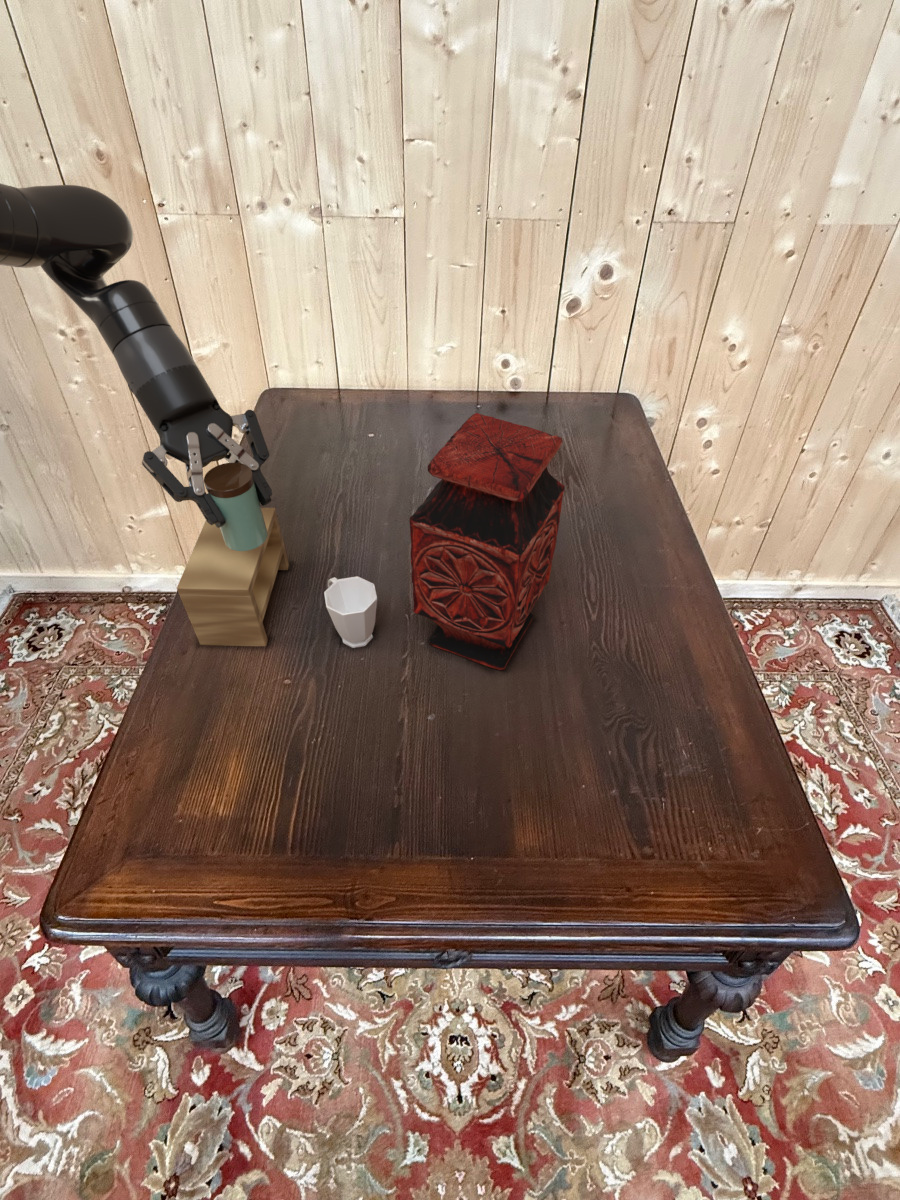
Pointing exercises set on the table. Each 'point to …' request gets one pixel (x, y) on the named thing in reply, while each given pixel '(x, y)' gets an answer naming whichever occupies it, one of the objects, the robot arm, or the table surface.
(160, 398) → the robot arm
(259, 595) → the shelf
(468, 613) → the red carved wooden box
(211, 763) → the table surface
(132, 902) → the table surface
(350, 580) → the cup
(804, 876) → the table surface
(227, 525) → the jar
